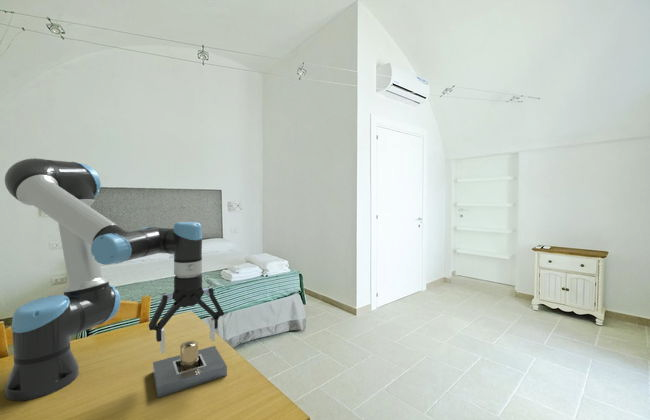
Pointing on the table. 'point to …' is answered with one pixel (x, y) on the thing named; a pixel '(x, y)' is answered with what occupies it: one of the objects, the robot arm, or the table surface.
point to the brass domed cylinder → (189, 355)
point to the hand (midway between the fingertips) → (188, 345)
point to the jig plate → (187, 372)
